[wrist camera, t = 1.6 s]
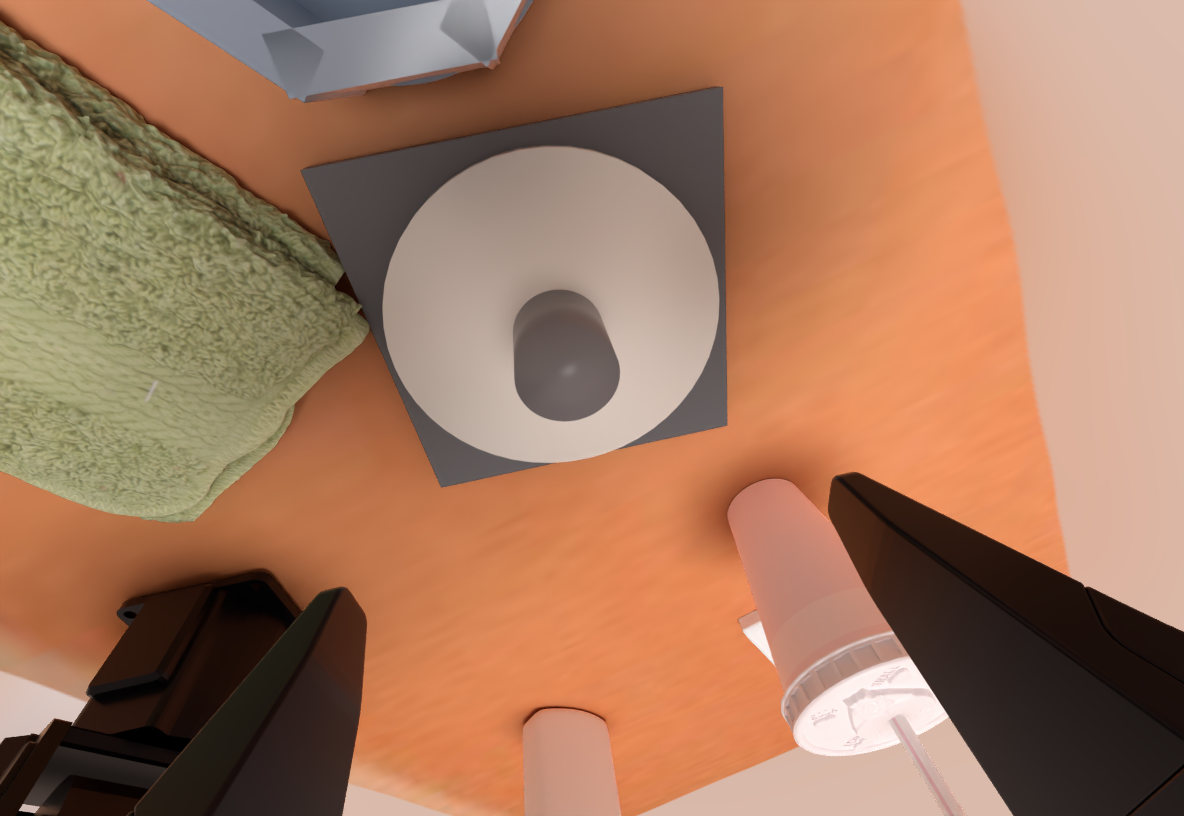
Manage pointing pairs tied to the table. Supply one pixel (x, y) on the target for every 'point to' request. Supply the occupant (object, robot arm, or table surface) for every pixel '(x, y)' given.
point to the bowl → (353, 39)
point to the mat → (410, 175)
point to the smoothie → (830, 636)
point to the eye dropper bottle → (568, 765)
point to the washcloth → (144, 303)
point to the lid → (550, 304)
